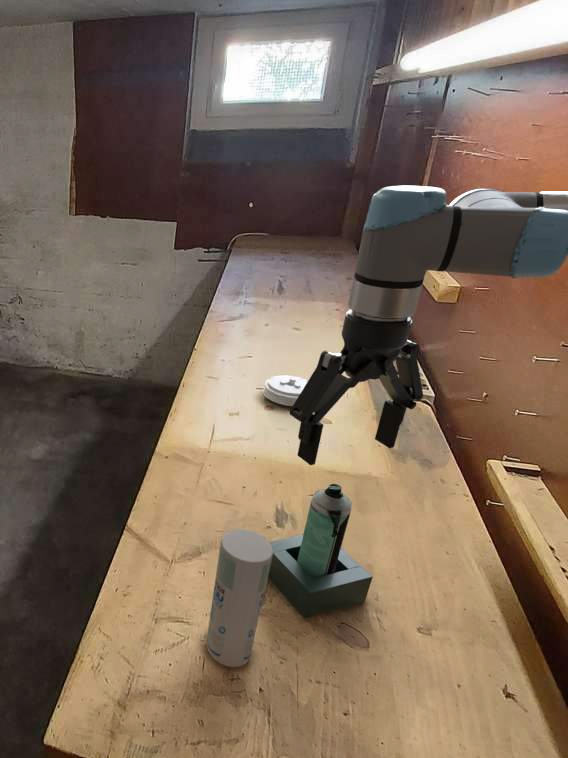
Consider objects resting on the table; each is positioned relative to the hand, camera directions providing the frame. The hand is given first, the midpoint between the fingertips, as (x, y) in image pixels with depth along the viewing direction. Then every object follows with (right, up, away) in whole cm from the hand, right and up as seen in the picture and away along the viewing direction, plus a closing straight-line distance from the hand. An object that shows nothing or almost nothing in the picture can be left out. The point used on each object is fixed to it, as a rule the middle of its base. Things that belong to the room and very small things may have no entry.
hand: (345, 451), depth 82 cm
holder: (+1, -24, +12) cm, 26 cm away
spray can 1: (-17, -30, +1) cm, 34 cm away
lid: (+24, +6, +70) cm, 75 cm away
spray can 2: (+1, -24, +12) cm, 27 cm away
